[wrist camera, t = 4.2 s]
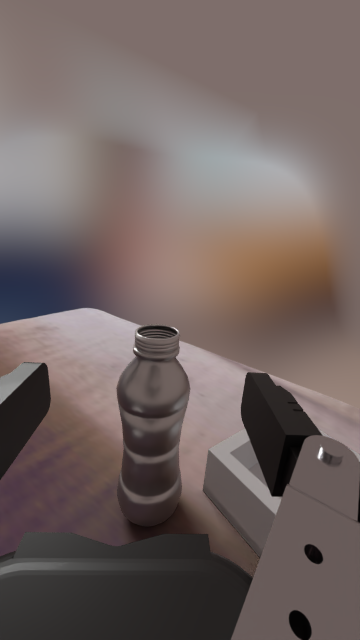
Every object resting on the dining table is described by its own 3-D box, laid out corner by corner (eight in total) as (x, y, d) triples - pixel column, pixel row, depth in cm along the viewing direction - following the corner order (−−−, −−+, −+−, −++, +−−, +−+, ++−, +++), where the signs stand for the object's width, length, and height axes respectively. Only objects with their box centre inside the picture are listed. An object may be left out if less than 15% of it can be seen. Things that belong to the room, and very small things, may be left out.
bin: (325, 635, 20) (347, 585, 18) (202, 490, 30) (208, 449, 28) (387, 525, 28) (406, 483, 26) (273, 441, 38) (281, 406, 36)
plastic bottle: (189, 523, 27) (212, 342, 20) (123, 549, 24) (125, 351, 18) (168, 471, 32) (180, 317, 26) (111, 487, 30) (110, 321, 23)
